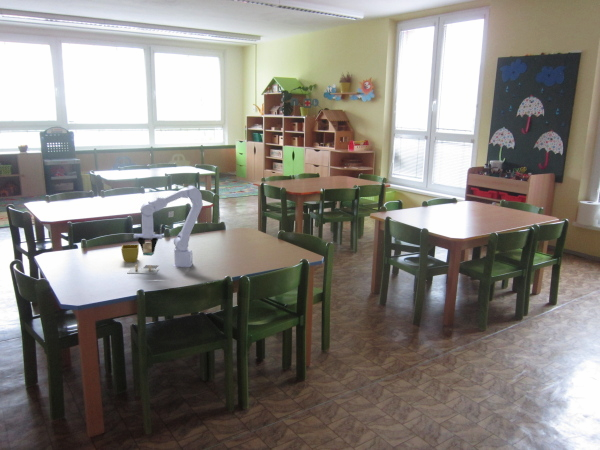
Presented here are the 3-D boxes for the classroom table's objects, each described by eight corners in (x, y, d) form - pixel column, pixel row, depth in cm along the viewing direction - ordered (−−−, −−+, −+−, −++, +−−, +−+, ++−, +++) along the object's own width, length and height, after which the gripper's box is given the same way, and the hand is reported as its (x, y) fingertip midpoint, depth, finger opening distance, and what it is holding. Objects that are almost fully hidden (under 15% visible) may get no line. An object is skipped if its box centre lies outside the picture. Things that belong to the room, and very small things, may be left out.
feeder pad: (158, 266, 262) (158, 265, 262) (155, 269, 257) (155, 268, 256) (146, 266, 262) (145, 265, 262) (142, 269, 256) (142, 268, 256)
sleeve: (154, 253, 259) (153, 242, 258) (151, 255, 255) (151, 244, 254) (145, 253, 259) (145, 242, 258) (143, 255, 255) (142, 244, 253)
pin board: (159, 270, 256) (158, 263, 255) (154, 275, 248) (154, 267, 247) (132, 269, 255) (132, 262, 255) (127, 274, 248) (126, 267, 247)
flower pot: (121, 264, 264) (121, 248, 262) (123, 260, 272) (122, 244, 270) (138, 263, 266) (138, 248, 264) (139, 259, 274) (138, 244, 272)
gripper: (163, 225, 258) (164, 250, 261) (136, 224, 258) (137, 249, 260) (159, 228, 251) (160, 253, 254) (131, 227, 251) (132, 252, 254)
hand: (148, 251), depth 257 cm, fingers closed on sleeve, 4 cm apart
